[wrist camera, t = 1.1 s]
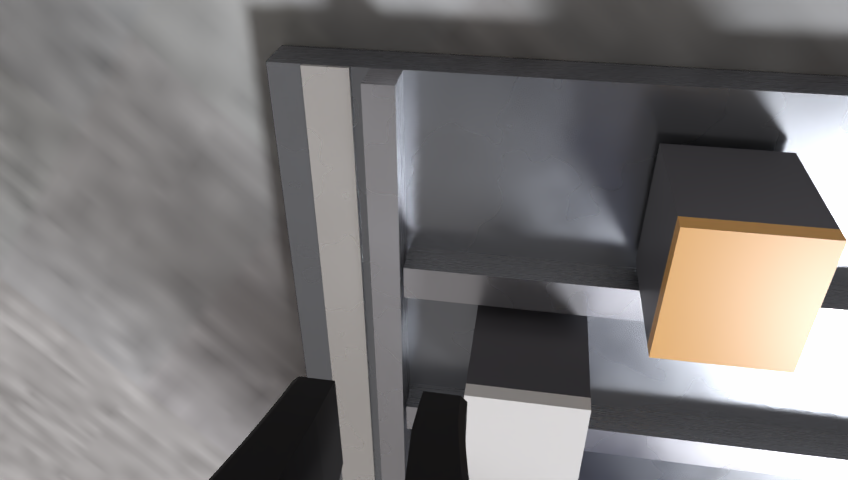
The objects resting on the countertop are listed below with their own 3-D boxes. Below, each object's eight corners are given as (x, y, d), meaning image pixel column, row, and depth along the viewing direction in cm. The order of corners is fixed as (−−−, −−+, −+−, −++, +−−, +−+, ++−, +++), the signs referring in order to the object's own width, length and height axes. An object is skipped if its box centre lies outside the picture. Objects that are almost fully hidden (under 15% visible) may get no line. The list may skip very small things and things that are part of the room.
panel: (888, 528, 25) (914, 589, 23) (329, 454, 27) (312, 503, 26) (1155, 93, 16) (1231, 137, 14) (281, 45, 18) (251, 77, 17)
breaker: (572, 398, 22) (574, 500, 19) (473, 387, 22) (460, 485, 19) (587, 312, 20) (591, 410, 17) (478, 301, 20) (463, 395, 17)
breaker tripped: (756, 272, 18) (793, 372, 15) (635, 261, 19) (648, 357, 16) (795, 152, 16) (847, 241, 13) (659, 143, 17) (680, 226, 14)
